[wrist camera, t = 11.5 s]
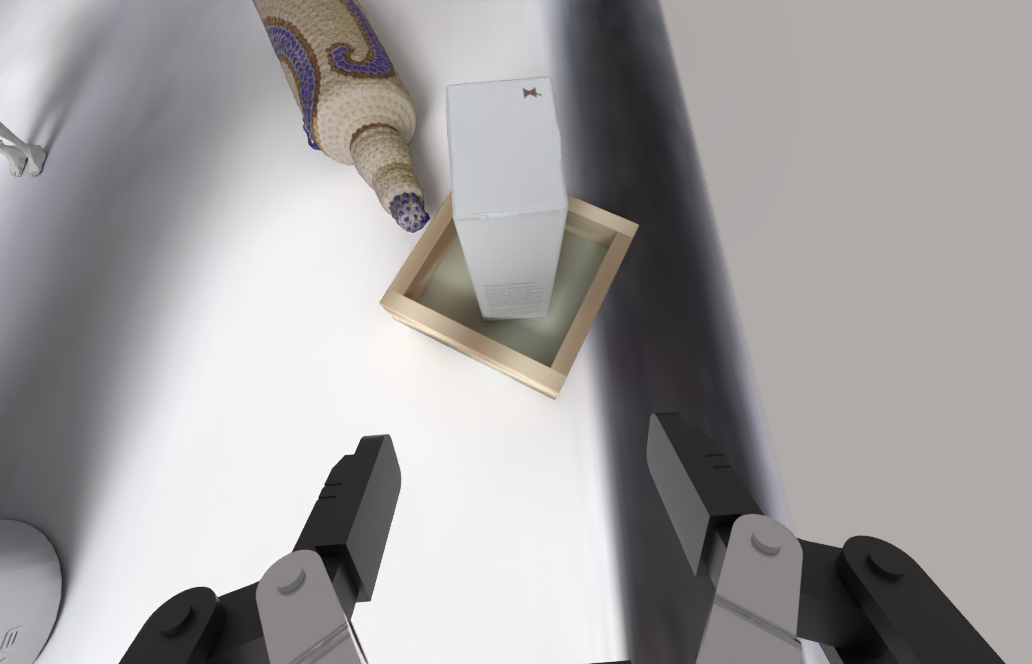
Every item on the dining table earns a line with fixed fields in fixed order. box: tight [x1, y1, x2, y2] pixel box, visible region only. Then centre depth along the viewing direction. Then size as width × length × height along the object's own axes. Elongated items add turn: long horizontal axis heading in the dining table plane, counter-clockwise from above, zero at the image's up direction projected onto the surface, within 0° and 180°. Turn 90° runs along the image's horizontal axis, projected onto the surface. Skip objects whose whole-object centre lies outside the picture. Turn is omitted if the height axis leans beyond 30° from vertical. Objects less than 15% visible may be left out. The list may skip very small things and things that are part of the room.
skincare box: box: [446, 77, 569, 321], centre depth 20 cm, size 6×4×12 cm
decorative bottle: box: [253, 0, 430, 233], centre depth 28 cm, size 26×8×7 cm, turn 26°
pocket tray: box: [379, 191, 639, 400], centre depth 25 cm, size 12×12×3 cm
